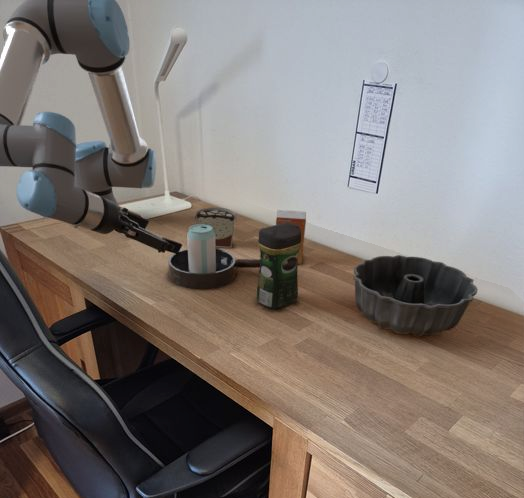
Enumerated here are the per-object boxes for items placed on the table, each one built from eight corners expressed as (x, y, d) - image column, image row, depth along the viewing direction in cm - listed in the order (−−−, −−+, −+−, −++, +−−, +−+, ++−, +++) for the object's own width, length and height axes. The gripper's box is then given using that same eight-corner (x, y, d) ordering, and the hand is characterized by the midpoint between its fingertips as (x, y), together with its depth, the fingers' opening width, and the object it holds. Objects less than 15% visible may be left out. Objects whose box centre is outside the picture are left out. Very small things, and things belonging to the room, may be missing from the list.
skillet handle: (233, 269, 119) (233, 261, 118) (233, 265, 121) (233, 257, 120) (283, 269, 120) (284, 261, 119) (282, 265, 122) (283, 258, 121)
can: (187, 267, 122) (185, 223, 115) (213, 265, 123) (212, 222, 117) (190, 279, 116) (188, 233, 110) (218, 277, 118) (217, 232, 111)
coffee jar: (280, 289, 115) (284, 216, 104) (302, 301, 110) (309, 226, 99) (250, 300, 109) (252, 224, 99) (272, 313, 104) (276, 235, 94)
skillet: (172, 260, 127) (171, 247, 124) (234, 260, 128) (234, 247, 126) (166, 289, 112) (165, 274, 110) (236, 288, 114) (236, 274, 112)
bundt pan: (326, 299, 111) (331, 260, 106) (415, 284, 120) (424, 248, 114) (389, 358, 91) (400, 315, 86) (490, 336, 100) (505, 295, 94)
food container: (239, 240, 141) (239, 208, 135) (236, 248, 136) (236, 215, 130) (200, 237, 142) (198, 205, 136) (195, 245, 136) (194, 212, 131)
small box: (273, 262, 128) (275, 216, 121) (274, 253, 133) (276, 209, 126) (302, 264, 128) (306, 218, 120) (301, 255, 133) (306, 211, 126)
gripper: (56, 204, 104) (127, 228, 122) (120, 255, 93) (187, 273, 111) (69, 173, 102) (138, 202, 120) (135, 222, 91) (201, 245, 110)
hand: (162, 236), depth 116 cm, fingers open, 13 cm apart
